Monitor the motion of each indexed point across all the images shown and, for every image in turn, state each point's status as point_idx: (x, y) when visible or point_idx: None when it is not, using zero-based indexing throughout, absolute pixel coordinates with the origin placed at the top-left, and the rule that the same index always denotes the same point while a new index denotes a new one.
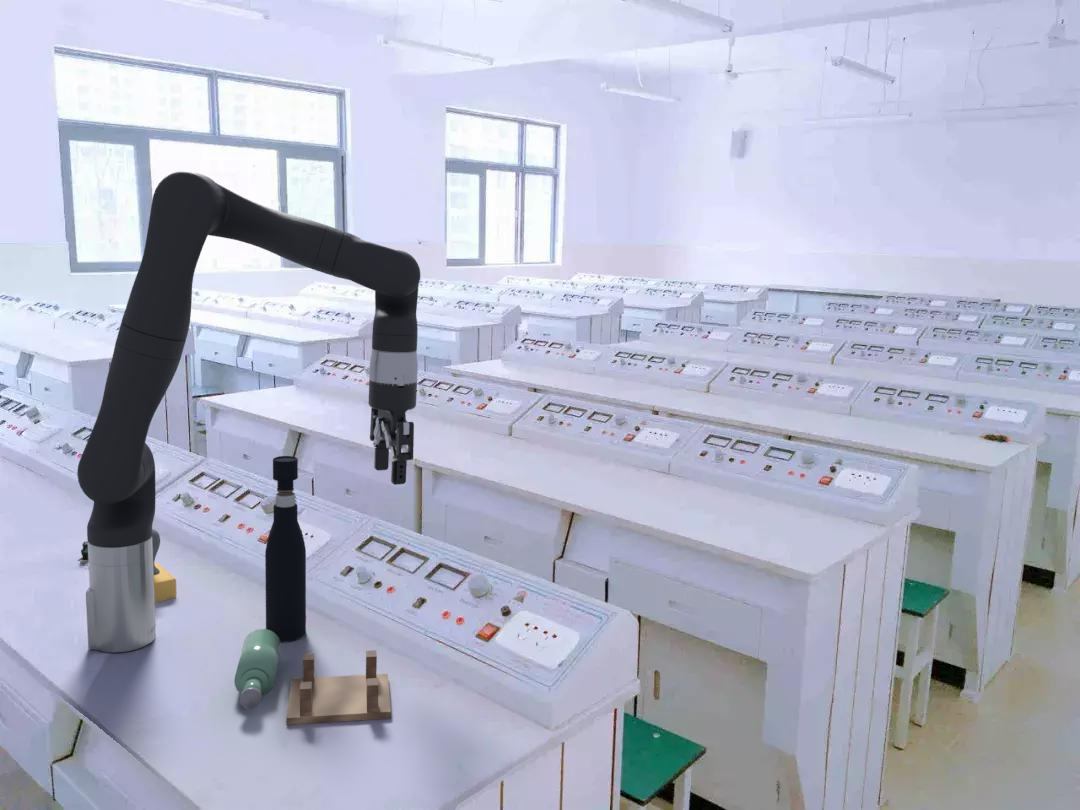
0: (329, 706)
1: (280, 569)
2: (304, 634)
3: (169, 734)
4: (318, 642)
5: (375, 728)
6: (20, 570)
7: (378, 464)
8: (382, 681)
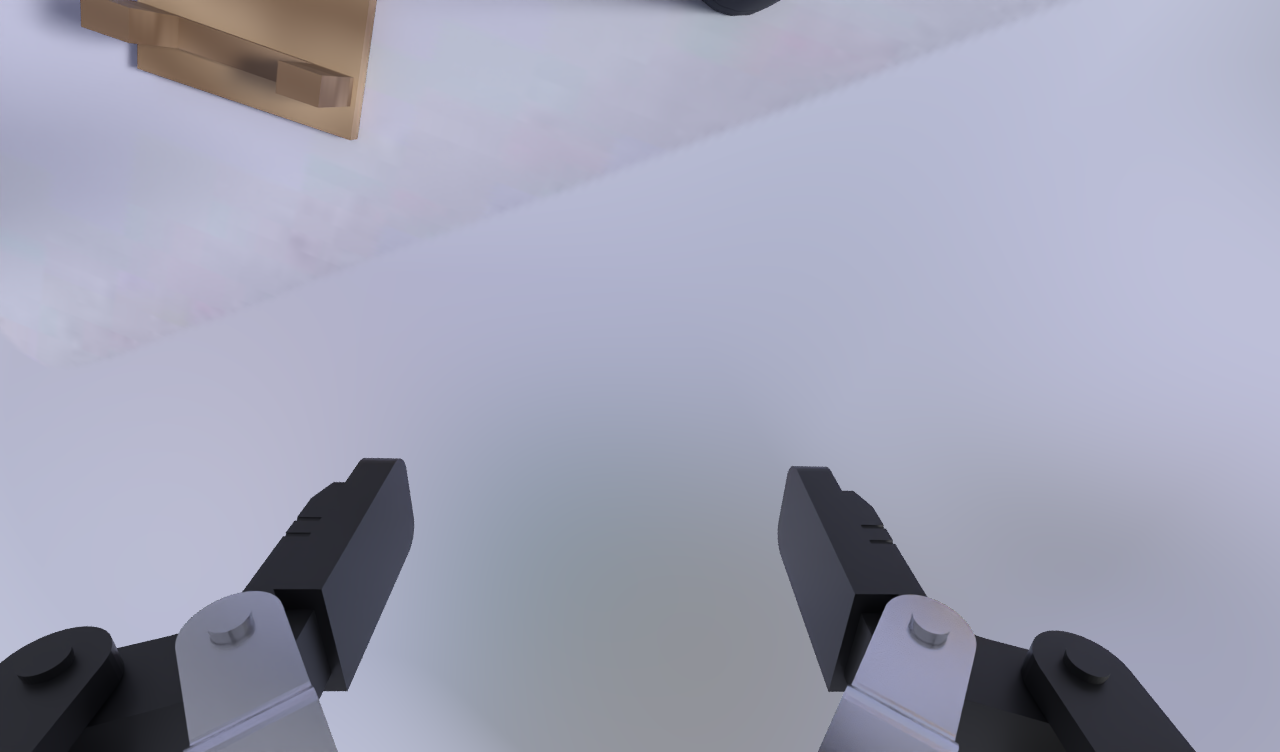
0: None
1: None
2: (704, 1)
3: None
4: (641, 29)
5: None
6: None
7: (798, 506)
8: (308, 109)
